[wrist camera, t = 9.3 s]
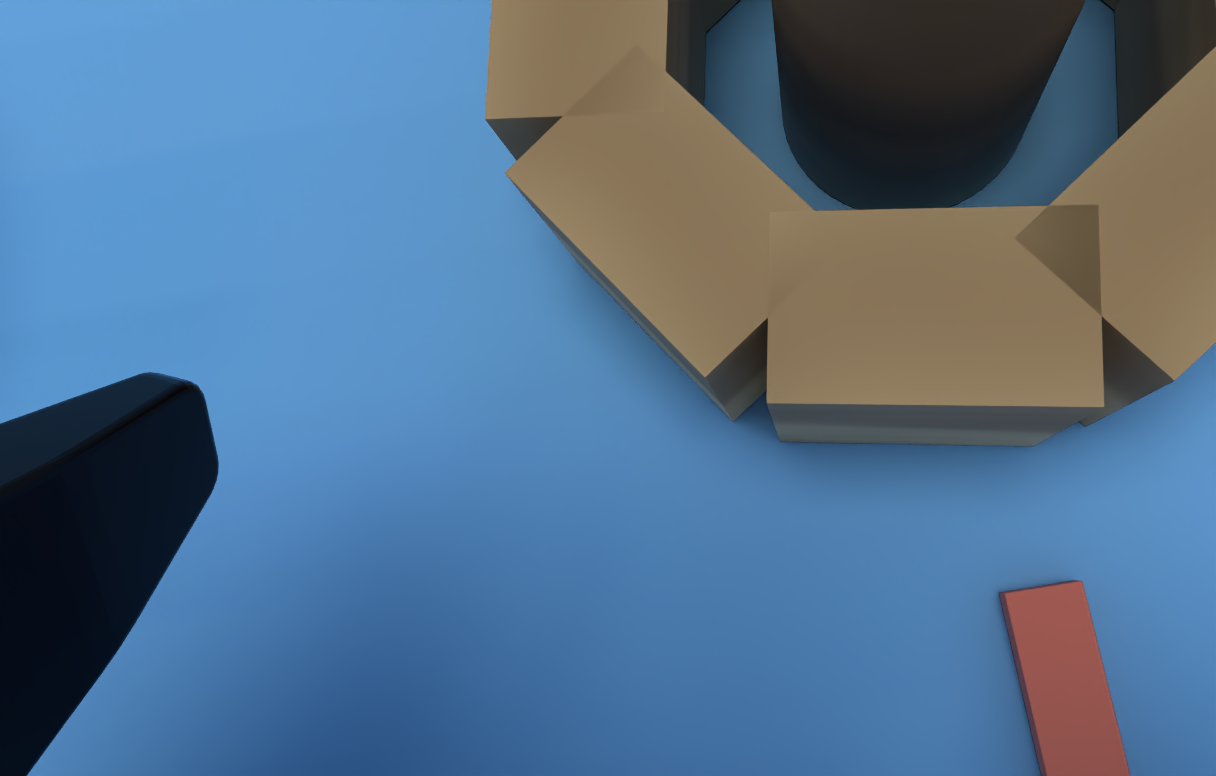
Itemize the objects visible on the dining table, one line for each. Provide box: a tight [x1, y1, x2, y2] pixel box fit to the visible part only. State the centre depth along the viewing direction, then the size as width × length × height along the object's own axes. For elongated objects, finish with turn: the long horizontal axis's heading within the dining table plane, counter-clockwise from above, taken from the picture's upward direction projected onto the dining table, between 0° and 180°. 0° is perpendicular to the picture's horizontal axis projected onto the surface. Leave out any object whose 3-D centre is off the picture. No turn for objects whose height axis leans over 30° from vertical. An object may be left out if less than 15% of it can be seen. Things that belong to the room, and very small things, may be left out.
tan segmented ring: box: [485, 0, 1216, 446], centre depth 14 cm, size 10×10×4 cm
